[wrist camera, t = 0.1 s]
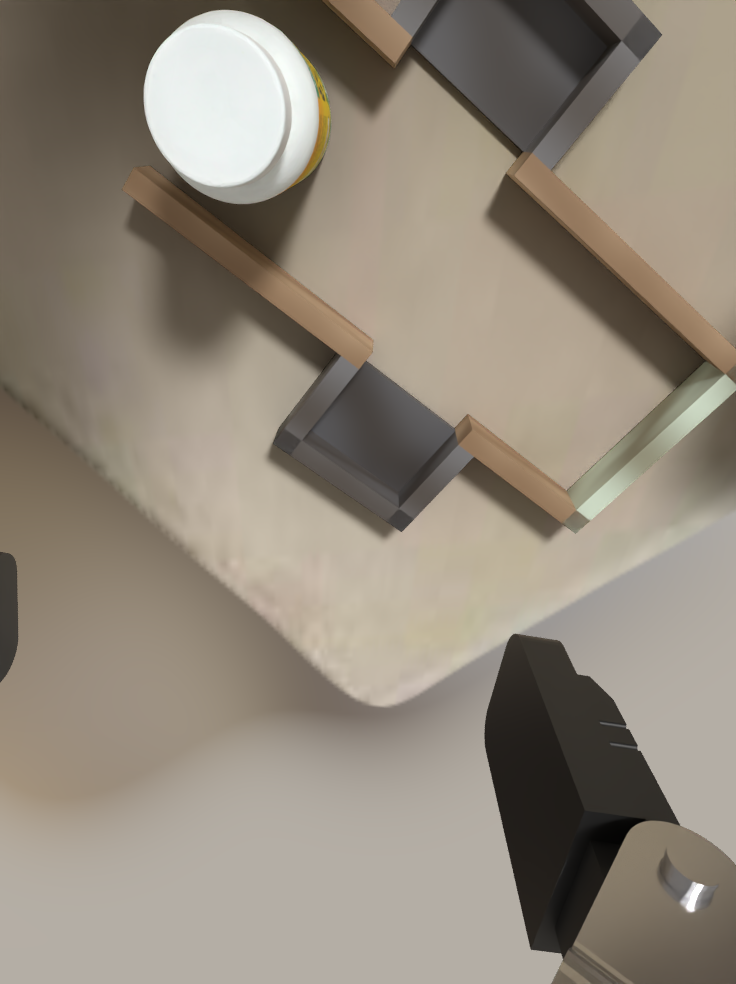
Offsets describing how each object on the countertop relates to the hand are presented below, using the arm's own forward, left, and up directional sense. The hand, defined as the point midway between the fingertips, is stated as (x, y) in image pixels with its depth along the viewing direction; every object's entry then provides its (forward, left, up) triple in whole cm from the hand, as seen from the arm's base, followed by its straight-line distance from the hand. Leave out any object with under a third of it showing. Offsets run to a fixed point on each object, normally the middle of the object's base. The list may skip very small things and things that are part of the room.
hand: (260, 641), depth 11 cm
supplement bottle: (-4, -7, -23) cm, 24 cm away
